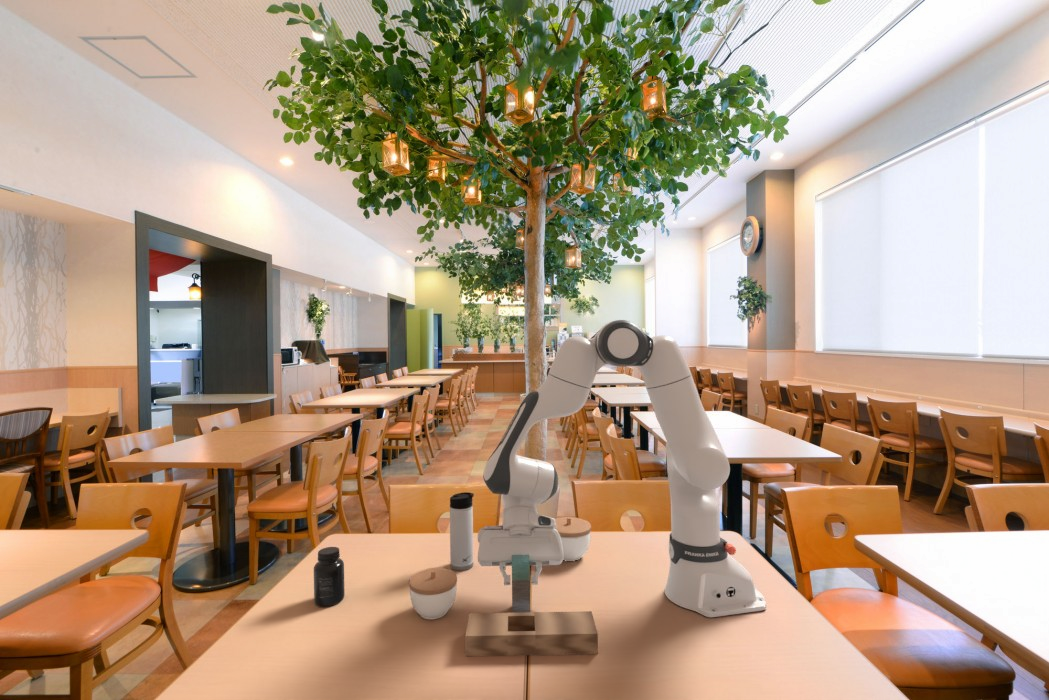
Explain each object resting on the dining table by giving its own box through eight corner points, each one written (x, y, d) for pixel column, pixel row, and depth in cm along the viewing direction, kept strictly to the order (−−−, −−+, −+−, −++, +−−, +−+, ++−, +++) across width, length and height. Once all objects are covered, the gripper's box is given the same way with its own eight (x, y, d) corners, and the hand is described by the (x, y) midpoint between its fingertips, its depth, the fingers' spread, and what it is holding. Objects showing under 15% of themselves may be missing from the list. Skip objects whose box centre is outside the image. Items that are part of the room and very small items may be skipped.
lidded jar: (439, 594, 119) (439, 556, 119) (466, 612, 111) (466, 571, 111) (400, 612, 111) (400, 571, 111) (426, 631, 104) (426, 588, 104)
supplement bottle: (350, 596, 119) (350, 547, 119) (328, 610, 112) (328, 558, 112) (330, 590, 122) (329, 542, 121) (307, 604, 115) (306, 553, 115)
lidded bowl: (594, 566, 133) (593, 526, 133) (548, 566, 134) (547, 526, 133) (588, 546, 146) (588, 510, 146) (546, 547, 146) (546, 510, 146)
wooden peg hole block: (591, 629, 104) (591, 611, 104) (597, 653, 96) (597, 633, 96) (469, 632, 104) (469, 613, 103) (465, 656, 96) (465, 636, 95)
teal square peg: (529, 605, 114) (529, 554, 114) (530, 615, 110) (529, 562, 110) (512, 605, 114) (511, 554, 113) (512, 615, 110) (511, 562, 109)
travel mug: (470, 572, 131) (469, 497, 130) (447, 569, 132) (446, 496, 132) (477, 561, 137) (476, 490, 137) (455, 559, 138) (454, 489, 138)
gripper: (477, 520, 118) (474, 580, 109) (561, 519, 118) (565, 578, 109) (479, 531, 123) (476, 589, 113) (560, 530, 123) (564, 588, 113)
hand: (520, 584), depth 111 cm, fingers open, 5 cm apart
